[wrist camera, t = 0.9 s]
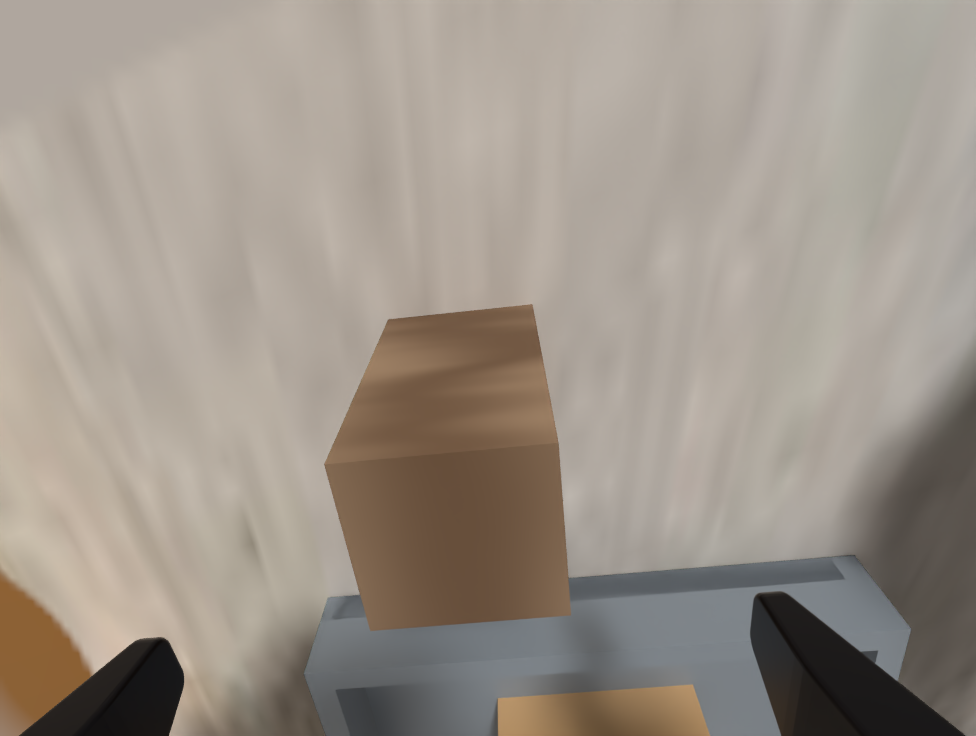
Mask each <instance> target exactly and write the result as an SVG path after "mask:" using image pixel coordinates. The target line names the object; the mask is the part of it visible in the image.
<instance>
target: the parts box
mask: <svg viewBox="0 0 976 736" xmlns="http://www.w3.org/2000/svg"><path fill="white" fill-rule="evenodd" d="M568 580H569V593H570V607H571V616H558V617H545V618H532V619H519V620H506V621H493V622H481V623H468V624H455V625H442V626H429V627H416V628H403V629H390V630H378V631H370V628H369V625H368V621H367V618H366V614H365V610H364V607H363V603H362V599H361V596H360V595H356V596H344V597H331V598H328V599H327V602H326V606H325V609H324V612H323V615H322V618H321V621H320V624H319V628H318V631H317V634H316V637H315V640H314V643H313V646H312V649H311V653H310V656H309V659H308V662H307V665H306V668H305V671H304V676H305V679H306V682H307V685H308V687H309V690H310V693H311V696H312V699H313V701H314V704H315V707H316V710H317V713H318V715H319V718H320V721H321V724H322V727H323V729H324V732H325V735H326V736H781V734H780V731H779V727H778V724H777V721H776V718H775V715H774V712H773V709H772V706H771V703H770V700H769V697H768V694H767V691H766V688H765V685H764V682H763V679H762V676H761V673H760V670H759V667H758V664H757V661H756V658H755V655H754V652H753V648H752V644H751V639H750V626H751V617H752V607H753V599H754V597H755V595H756V594H757V593H760V592H773V591H782V592H785V593H787V594H789V595H790V596H791V597H793V598H794V599H795V600H796V601H798V602H799V603H800V604H801V605H803V606H804V607H805V608H806V609H808V610H809V611H810V612H811V613H813V614H814V615H815V616H816V617H818V618H819V619H820V620H821V621H823V622H824V623H825V624H826V625H828V626H829V627H830V628H831V629H833V630H834V631H835V632H836V633H838V634H839V635H840V636H841V637H843V638H844V639H845V640H846V641H848V642H849V643H850V644H852V645H853V646H854V647H855V648H857V649H858V650H859V651H860V652H862V653H863V654H864V655H865V656H867V657H868V658H869V659H870V660H872V661H873V662H874V663H875V664H877V665H878V666H879V667H880V668H882V669H883V670H884V671H885V672H887V673H888V674H889V675H890V676H892V677H893V678H894V679H895V680H897V681H898V678H899V674H900V670H901V666H902V662H903V659H904V655H905V651H906V647H907V644H908V640H909V636H910V632H911V628H910V627H909V625H908V624H907V623H906V621H905V620H904V619H903V618H902V616H901V615H900V614H899V612H898V611H897V610H896V608H895V607H894V606H893V605H892V603H891V602H890V601H889V599H888V598H887V597H886V596H885V594H884V593H883V592H882V590H881V589H880V588H879V587H878V585H877V584H876V583H875V581H874V580H873V579H872V577H871V576H870V575H869V574H868V572H867V571H866V570H865V568H864V567H863V566H862V565H861V563H860V562H859V561H858V559H857V558H856V557H855V555H852V556H839V557H827V558H814V559H802V560H790V561H777V562H765V563H752V564H740V565H728V566H715V567H703V568H691V569H678V570H666V571H653V572H641V573H629V574H616V575H604V576H591V577H579V578H568Z"/></svg>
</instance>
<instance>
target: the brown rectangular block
mask: <svg viewBox="0 0 976 736" xmlns="http://www.w3.org/2000/svg"><path fill="white" fill-rule="evenodd" d="M324 465H325V469H326V472H327V476H328V480H329V483H330V487H331V490H332V494H333V498H334V501H335V505H336V509H337V512H338V516H339V519H340V523H341V527H342V530H343V534H344V538H345V541H346V545H347V549H348V552H349V556H350V559H351V563H352V567H353V570H354V574H355V578H356V581H357V585H358V588H359V592H360V596H361V599H362V603H363V607H364V610H365V614H366V618H367V621H368V625H369V628H370V631H378V630H390V629H403V628H416V627H429V626H442V625H455V624H468V623H481V622H493V621H506V620H519V619H532V618H545V617H558V616H571V607H570V593H569V580H568V566H567V552H566V539H565V525H564V512H563V498H562V484H561V471H560V457H559V444H558V438H557V432H556V427H555V422H554V417H553V411H552V406H551V401H550V395H549V390H548V385H547V379H546V374H545V369H544V363H543V358H542V353H541V348H540V342H539V337H538V332H537V326H536V321H535V316H534V310H533V305H532V304H531V305H522V306H512V307H503V308H493V309H484V310H474V311H465V312H455V313H446V314H436V315H427V316H417V317H408V318H398V319H389V320H388V321H387V324H386V326H385V328H384V330H383V333H382V335H381V337H380V339H379V342H378V344H377V346H376V348H375V351H374V353H373V355H372V358H371V360H370V362H369V364H368V367H367V369H366V371H365V373H364V376H363V378H362V380H361V383H360V385H359V387H358V389H357V392H356V394H355V396H354V398H353V401H352V403H351V405H350V407H349V410H348V412H347V414H346V417H345V419H344V421H343V423H342V426H341V428H340V430H339V432H338V435H337V437H336V439H335V441H334V444H333V446H332V448H331V451H330V453H329V455H328V457H327V460H326V462H325V464H324Z"/></svg>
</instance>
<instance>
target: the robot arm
mask: <svg viewBox="0 0 976 736" xmlns="http://www.w3.org/2000/svg"><path fill="white" fill-rule="evenodd" d="M750 639H751V644H752V648H753V652H754V655H755V658H756V661H757V664H758V667H759V670H760V673H761V676H762V679H763V682H764V685H765V688H766V691H767V694H768V697H769V700H770V703H771V706H772V709H773V712H774V715H775V718H776V721H777V724H778V727H779V731H780V734H781V736H965V735H964V734H963V733H962V732H960V731H959V730H958V729H957V728H955V727H954V726H953V725H952V724H950V723H949V722H948V721H947V720H945V719H944V718H943V717H942V716H940V715H939V714H938V713H937V712H935V711H934V710H933V709H932V708H930V707H929V706H928V705H927V704H925V703H924V702H923V701H922V700H920V699H919V698H918V697H917V696H915V695H914V694H913V693H912V692H910V691H909V690H908V689H907V688H905V687H904V686H903V685H902V684H900V683H899V682H898V681H897V680H895V679H894V678H893V677H892V676H890V675H889V674H888V673H887V672H885V671H884V670H883V669H882V668H880V667H879V666H878V665H877V664H875V663H874V662H873V661H872V660H870V659H869V658H868V657H867V656H865V655H864V654H863V653H862V652H860V651H859V650H858V649H857V648H855V647H854V646H853V645H852V644H850V643H849V642H848V641H846V640H845V639H844V638H843V637H841V636H840V635H839V634H838V633H836V632H835V631H834V630H833V629H831V628H830V627H829V626H828V625H826V624H825V623H824V622H823V621H821V620H820V619H819V618H818V617H816V616H815V615H814V614H813V613H811V612H810V611H809V610H808V609H806V608H805V607H804V606H803V605H801V604H800V603H799V602H798V601H796V600H795V599H794V598H793V597H791V596H790V595H789V594H787V593H785V592H782V591H773V592H760V593H757V594H756V595H755V597H754V599H753V607H752V617H751V626H750ZM183 686H184V673H183V670H182V668H181V666H180V664H179V661H178V659H177V657H176V655H175V653H174V651H173V649H172V647H171V645H170V643H169V641H168V640H166V639H165V638H162V637H157V638H144V639H139V640H137V641H135V642H133V643H132V644H131V645H129V646H128V647H127V648H126V649H124V650H123V651H122V652H121V653H120V654H118V655H117V656H116V657H115V658H113V659H112V660H111V661H110V662H109V663H107V664H106V665H105V666H104V667H102V668H101V669H100V670H99V671H98V672H96V673H95V674H94V675H93V676H91V677H90V678H89V679H88V680H87V681H85V682H84V683H83V684H82V685H81V686H79V687H78V688H77V689H76V690H74V691H73V692H72V693H71V694H69V695H68V696H67V697H66V698H65V699H63V700H62V701H61V702H60V703H59V704H57V705H56V706H55V707H54V708H52V709H51V710H50V711H49V712H48V713H46V714H45V715H44V716H43V717H42V718H40V719H39V720H38V721H37V722H35V723H34V724H33V725H32V726H30V727H29V728H28V729H27V730H25V731H24V732H23V733H22V734H21V735H19V736H169V733H170V730H171V727H172V724H173V720H174V717H175V714H176V710H177V707H178V704H179V701H180V697H181V694H182V691H183Z"/></svg>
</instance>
